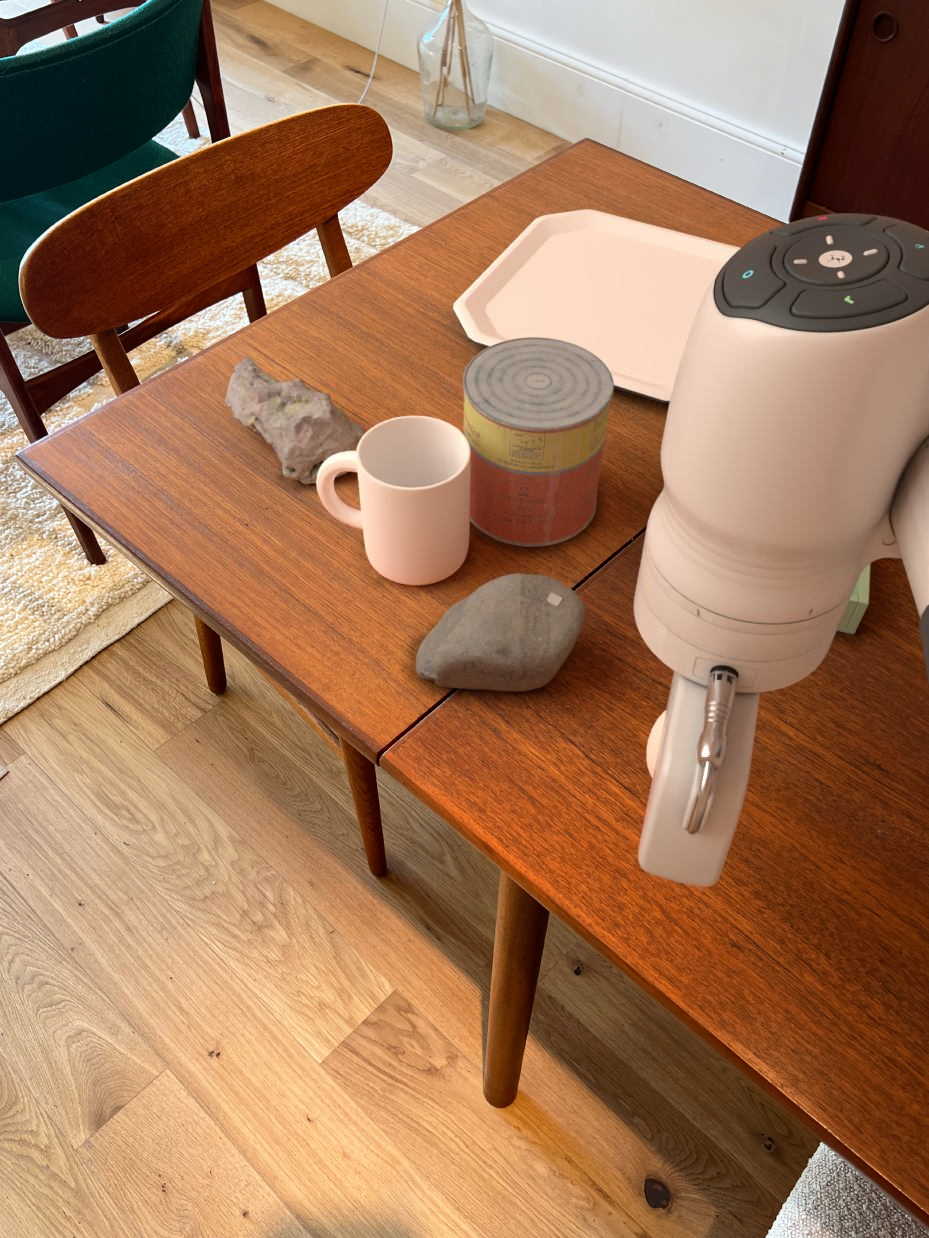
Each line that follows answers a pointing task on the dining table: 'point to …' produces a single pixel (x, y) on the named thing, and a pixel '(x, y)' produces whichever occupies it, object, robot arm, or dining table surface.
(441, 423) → the mug
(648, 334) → the plate
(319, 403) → the rock
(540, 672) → the stone
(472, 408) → the canned food
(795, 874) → the dining table surface
